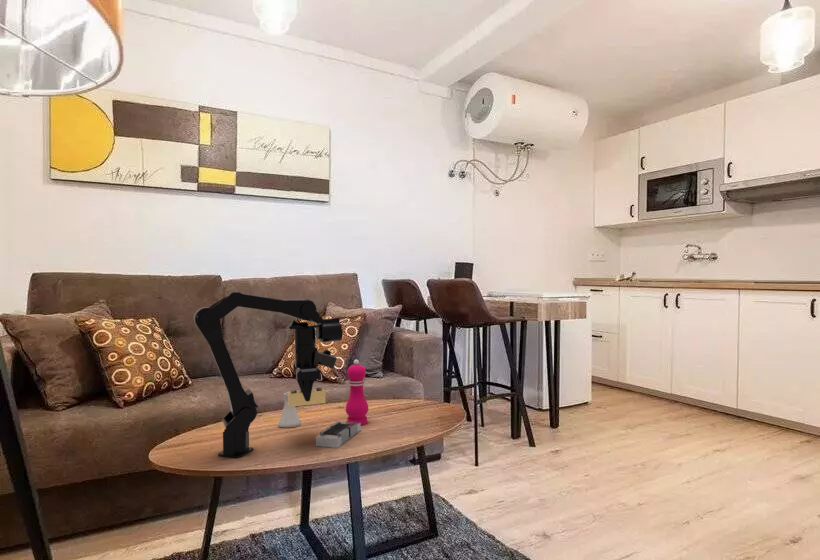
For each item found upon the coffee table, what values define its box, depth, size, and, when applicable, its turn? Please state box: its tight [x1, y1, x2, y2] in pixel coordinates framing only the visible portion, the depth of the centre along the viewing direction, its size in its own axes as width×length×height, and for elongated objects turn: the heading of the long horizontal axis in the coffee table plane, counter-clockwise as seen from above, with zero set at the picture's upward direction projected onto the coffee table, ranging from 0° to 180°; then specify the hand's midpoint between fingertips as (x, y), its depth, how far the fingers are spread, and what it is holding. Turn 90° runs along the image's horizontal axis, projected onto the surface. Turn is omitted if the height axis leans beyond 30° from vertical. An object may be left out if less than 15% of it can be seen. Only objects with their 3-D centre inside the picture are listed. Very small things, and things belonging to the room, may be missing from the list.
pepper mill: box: [345, 359, 369, 426], centre depth 148 cm, size 7×7×20 cm
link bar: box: [287, 386, 327, 407], centre depth 131 cm, size 10×3×4 cm, turn 107°
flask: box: [277, 391, 302, 429], centre depth 147 cm, size 7×7×10 cm
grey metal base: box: [315, 420, 362, 449], centre depth 134 cm, size 16×6×3 cm, turn 163°
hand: (307, 399), depth 131 cm, fingers closed on link bar, 3 cm apart
